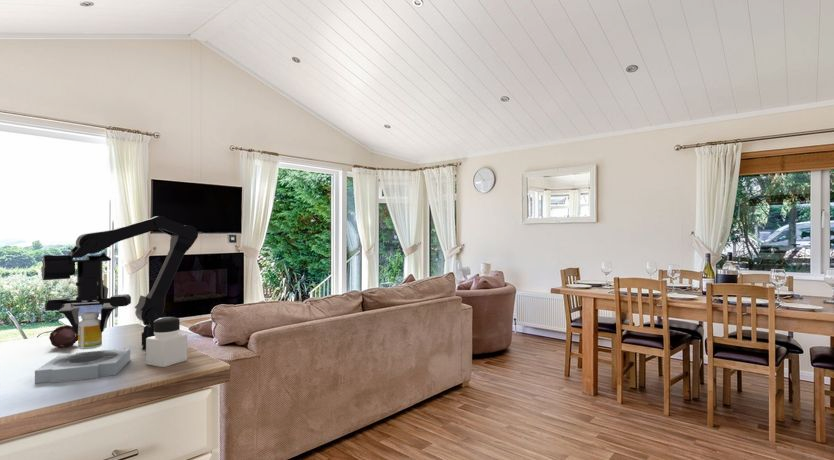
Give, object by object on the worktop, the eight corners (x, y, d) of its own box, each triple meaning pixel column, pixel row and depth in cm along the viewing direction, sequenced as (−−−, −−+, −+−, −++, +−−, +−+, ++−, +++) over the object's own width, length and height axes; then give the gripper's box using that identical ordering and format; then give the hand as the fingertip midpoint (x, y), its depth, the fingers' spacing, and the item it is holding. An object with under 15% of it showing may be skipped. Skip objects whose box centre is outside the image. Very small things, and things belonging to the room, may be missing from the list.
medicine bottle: (187, 360, 119) (187, 316, 119) (163, 367, 112) (162, 321, 112) (170, 357, 122) (170, 314, 122) (145, 364, 115) (145, 319, 115)
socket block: (131, 358, 121) (131, 347, 121) (114, 376, 106) (114, 363, 106) (60, 365, 115) (60, 354, 115) (32, 384, 100) (32, 371, 100)
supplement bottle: (106, 345, 125) (106, 311, 125) (90, 350, 119) (90, 314, 119) (89, 344, 125) (89, 311, 125) (72, 349, 120) (73, 314, 120)
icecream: (87, 327, 133) (77, 325, 143) (57, 325, 128) (48, 322, 138) (80, 350, 131) (70, 346, 141) (50, 349, 126) (41, 345, 136)
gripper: (135, 273, 133) (135, 324, 133) (60, 276, 127) (60, 329, 126) (126, 277, 123) (126, 332, 123) (44, 280, 116) (44, 338, 116)
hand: (90, 332), depth 122 cm, fingers closed on supplement bottle, 5 cm apart
